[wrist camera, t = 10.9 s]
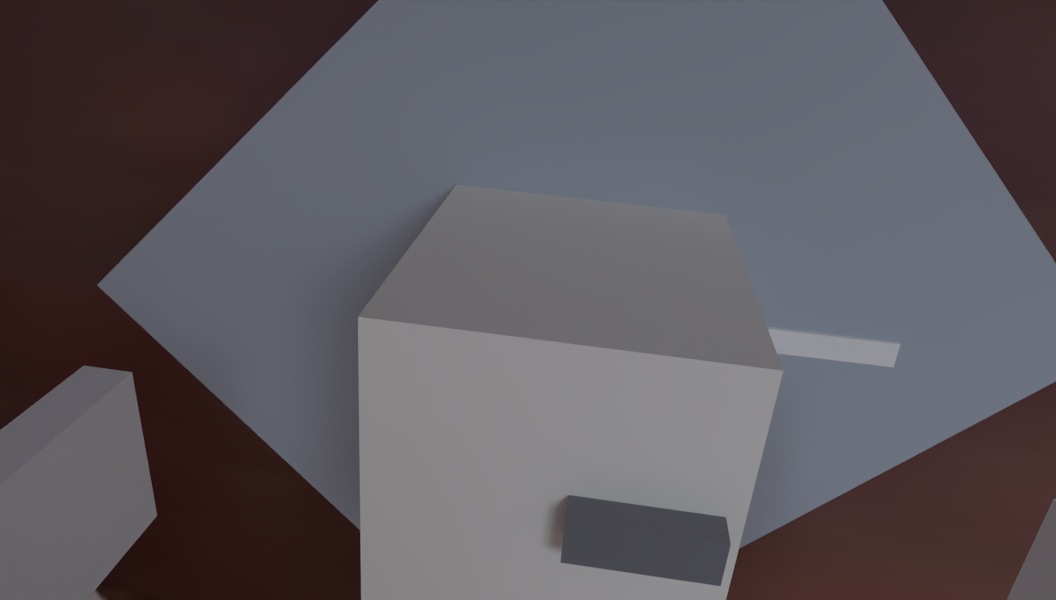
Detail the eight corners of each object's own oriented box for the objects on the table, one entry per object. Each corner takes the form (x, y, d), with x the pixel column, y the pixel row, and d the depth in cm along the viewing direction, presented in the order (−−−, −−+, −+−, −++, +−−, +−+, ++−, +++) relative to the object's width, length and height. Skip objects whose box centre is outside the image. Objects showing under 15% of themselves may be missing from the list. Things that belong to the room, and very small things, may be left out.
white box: (446, 410, 20) (350, 652, 13) (455, 184, 17) (343, 336, 11) (680, 441, 19) (709, 709, 13) (725, 215, 17) (792, 393, 10)
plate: (131, 263, 21) (-85, 398, 15) (675, -282, 15) (712, -460, 8) (516, 630, 25) (478, 863, 18) (1077, 321, 19) (1311, 512, 12)
